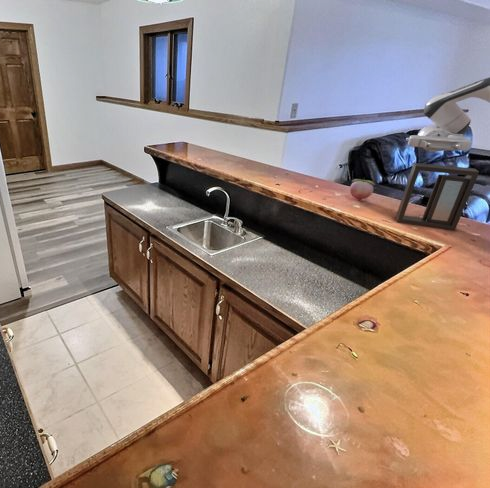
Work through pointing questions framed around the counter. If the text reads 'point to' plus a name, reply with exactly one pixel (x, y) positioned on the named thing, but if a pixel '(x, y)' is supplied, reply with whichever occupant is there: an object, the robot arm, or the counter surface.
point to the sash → (434, 195)
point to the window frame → (440, 196)
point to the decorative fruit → (361, 188)
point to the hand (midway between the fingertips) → (442, 146)
